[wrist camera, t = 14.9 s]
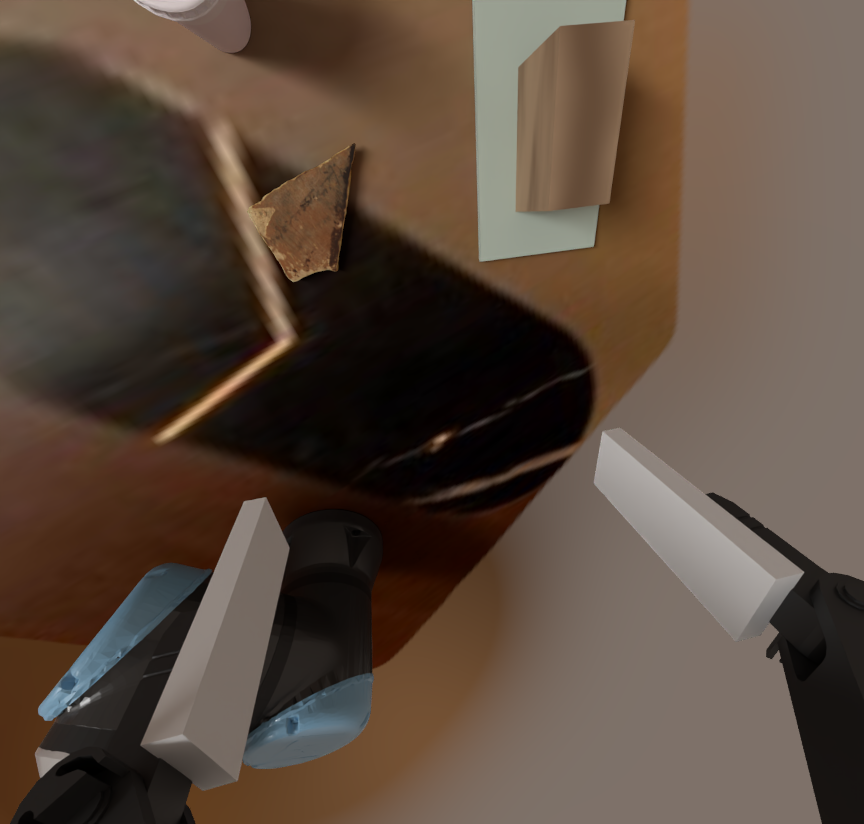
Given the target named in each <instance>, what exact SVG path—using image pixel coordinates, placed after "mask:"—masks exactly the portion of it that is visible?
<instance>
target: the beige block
mask: <svg viewBox="0 0 864 824" xmlns="http://www.w3.org/2000/svg"><path fill="white" fill-rule="evenodd" d="M634 24H635V20H627V21H615V22H602V23H590V24H578V25H565V26H560V27H559V28H558V29H557V30H555V31H554V32H553V33H552V34H551V35H550V36H549V37H548V38H547V39H546V40H545V41H544V42H543V43H542V44H541V45H540V46H539V47H538V48H537V49H536V50H535V51H534V52H533V53H532V54H531V55H530V56H529V57H528V58H527V59H526V60H525V61H524V62H523V63H522V64H521V65H520V66H519V67H518V107H517V159H516V212H531V211H554V210H562V209H570V208H578V207H586V206H594V205H602V204H609V202H610V195H611V188H612V181H613V174H614V167H615V159H616V152H617V145H618V138H619V131H620V124H621V117H622V110H623V102H624V95H625V88H626V81H627V74H628V67H629V60H630V53H631V45H632V38H633V31H634Z"/></svg>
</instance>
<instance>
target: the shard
mask: <svg viewBox="0 0 864 824" xmlns="http://www.w3.org/2000/svg"><path fill="white" fill-rule="evenodd" d="M355 145H356V144H355V143H353V144H352V145H351V146H348V147H347V148H346V149H344V150H342V151H340V152H339V153H337V154H335V155H334V156H333V157H331V158H330V159H329V160H328V161H325V162H324V163H322V164H320V165H319V166H317V167H315V168H313V169H310V170H308V171H305V172H303V173H302V174H300V175H298V176H297V177H295V178H294V179H291V180H289V181H287V182H285V183H284V184H282V185H281V186H280V187H279V188H277V189H274V190H273V191H272V192H270V193H269V194H267V195H265V196H264V197H263V199H262V201H261V202H259V203H257V204H255V205H253V206H251V207H250V208H249V210H248V211H247V213H248V214H249V216H250V218H251V220H252V221H253V223H254V225H255V226H256V228H257V230H258V232H259V234H260V235H261V237H262V238H263V239H264V241H265V242H266V244H267V245H268V247H269V248H270V249H271V250H272V252H273V254H274V255H275V257H276V258H277V260H278V261H279V263H280V264H281V266H282V267H283V270H284V272H285V273H286V275H287V277H288V278H289V279H290V280H291V281H292V282H296V281H298V280H300V279H302V278H303V277H306V276H308V275H310V274H313V273H315V272H320V271H325V270H332V271H338V261H339V253H340V248H341V241H342V232H343V227H344V221H345V215H346V213H347V212H346V208H347V204H348V197H349V189H350V181H351V166H352V163H353V161H354V155H355Z"/></svg>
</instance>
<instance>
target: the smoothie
mask: <svg viewBox="0 0 864 824" xmlns="http://www.w3.org/2000/svg"><path fill="white" fill-rule="evenodd" d="M134 1H135V2H136V3H137V4H139V5H141V6H142V7H144V8H145V9H147V10H149V11H150V12H152V13H154V14H155V15H157V16H160V17H163V18H166V19H169V20H173V21H176V22H178V23H179V24H181V25H182V26H184V27H185V28H187V29H188V30H190V31H191V32H193V33H194V34H196V35H197V36H199V37H201V38H202V39H204V40H205V41H207V42H208V43H210V44H211V45H213V46H214V47H216V48H217V49H219V50H221V51H223V52H227V53H235V52H238V51H240V50H242V49H243V48H244V47H245V46H246V45H247V43H248V41H249V38H250V34H251V21H250V15H249V12H248V9H247V6H246V3H245V0H134Z"/></svg>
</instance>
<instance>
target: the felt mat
mask: <svg viewBox="0 0 864 824" xmlns="http://www.w3.org/2000/svg"><path fill="white" fill-rule="evenodd" d="M472 6H473V45H474V83H475V121H476V159H477V197H478V236H479V261H481V262H482V261H489V260H497V259H504V258H512V257H519V256H527V255H535V254H542V253H550V252H557V251H565V250H572V249H580V248H587V247H594V242H595V234H596V226H597V219H598V211H599V205H594V206H586V207H578V208H570V209H562V210H554V211H531V212H516V159H517V107H518V67H519V66H520V65H521V64H522V63H523V62H524V61H525V60H526V59H527V58H528V57H529V56H530V55H531V54H532V53H533V52H534V51H535V50H536V49H537V48H538V47H539V46H540V45H541V44H542V43H543V42H544V41H545V40H546V39H547V38H548V37H549V36H550V35H551V34H552V33H553V32H554V31H555V30H557V29H558V28H559V27H560V26H565V25H578V24H590V23H602V22H615V21H624V14H625V6H626V0H472Z"/></svg>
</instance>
